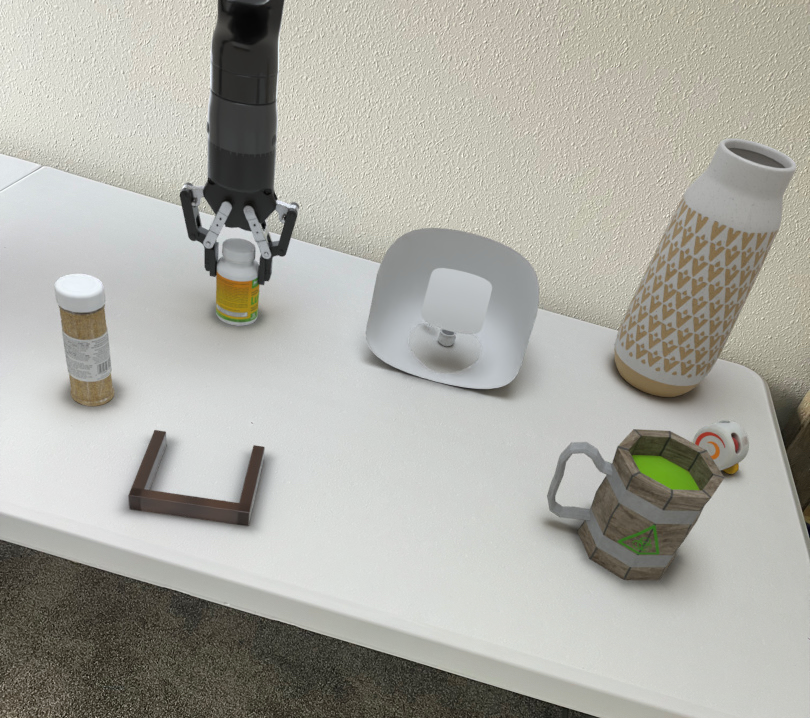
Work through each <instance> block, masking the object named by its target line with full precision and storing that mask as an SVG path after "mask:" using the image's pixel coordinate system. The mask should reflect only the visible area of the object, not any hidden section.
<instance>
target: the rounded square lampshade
mask: <svg viewBox="0 0 810 718" xmlns="http://www.w3.org/2000/svg"><path fill="white" fill-rule="evenodd" d="M373 287H374V288H373V292H372V298H371V302H370V304H371V305H370V309H369V314H368V318H367V321H366V322H367V323H366V328H365V340H366V344H367V346H368V348H369V349H370V352H372V353H373V354H374V355H375V356H376V357H377V358H378V359H379V360H381V361H382V362H384V363H385V364H387V365H389V366H391V367H393V368H395V369H397V370H400V371H402V372H404V373H407V374H409V375H413V376H415V377H419V378H423V379H425V380H429V381H433V382H436V383H441V384H445V385H450V386H455V387H461V388H468V389H477V390H490V389H498V388H501V387H505V386H507V385H509V384H510V383H512V381H514V379H515V378H517V375H518V374H519V372H520V370H521V367H522V364H523V361H524V357H525V354H526V351H527V348H528V345H529V341H530V339H531V335H532V332H533V329H534V325H535V322H536V319H537V317H538V310H539V304H540V282H539V279H538V275H537V272H536V271H535V268H534V267H533V265H532V264H531V263H530V261H529V260H528V259H527V258H526V257H524V255H523V254H521V253H520V252H518V251H517V250H515V249H514V248H512V247H511V246H508V245H505V244H504V243H502V242H499V241H498V240H494V239H491V238H489V237H486V236H482V235H479V234H476V233H473V232H468V231H465V230H464V231H463V230H459V229H452V228H443V227H442V228H441V227H424V228H418V229H414V230H411V231H408V232H406V233H404V234H402V235H401V236H399V237H398V238H396V240H395V241H394V242H393V243H392V244H391V245H390V246H389V247H388V249H387V250H386V252H385V254H384V256H383V258H382V260H381V262H380V264H379V267H378V270H377V273H376V276H375V283H374V286H373ZM421 324H425V327H427V329H428V330H430V329H431V328H432V327H433V328H437V329H440V332H439V333H438V338H437V339H438V342H439V344H440V345H441V346H444V347H449V346H452V345H453V344H454V343H455V340H456V335H457V334H460V335H461V334H463V335H473V336H474V337H475V338H476V339H477V340H478V342H479V344H480V355H479V357H478V359H477V360H476V361H475V362H474V363H473V364H471V365H470V366H467V367H466V368H463V369H461V370H457V371H452V372H437V371H435V370H433V369H431V368H428V367H427V366H426V365H425V364H424V363H423V362H421V360H420V359H419V358H418V357H417V356H416V355H415V353H414V352H413V351H412V349H411V347H410V346H411V345H410V343H409V341H410V335H411V332H412V331H413V330H414V329H415V328H416V327H418V325H421Z"/></svg>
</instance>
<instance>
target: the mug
mask: <svg viewBox="0 0 810 718" xmlns="http://www.w3.org/2000/svg"><path fill="white" fill-rule="evenodd" d="M692 442H693V441H690V440H688V439H686V438H684V437H683V436H680V435H679V434H677V433H674V432H673V431H672V430H660V429H638V428H633V429H632V430H631V431H630V432H629V434H628V435H626V437H625V438H624V439H623V440H622V441H621V442H620V443H619V444H618V445H617V447H616V450H615V453H614V456H613V459H612V462H609V461H607V460H605V459H604V457H603V456H602V454H601V452H600V451H599V449H598V448H597V447H595V446H594V445H592V444H591V443H590V442H588V441H577V442H575V441H574V442H573V441H572V442H570V443H569V444H568V446H567V447H566V448H565V449H563V451H562V452H561V453H560V454H559V456H558V460H557V464H556V468H555V471H554V474H553V476H552V479H551V481H550V484H549V488H548V491H547V493H546V499H547V504H548V510H549V512H551V513H552V514H554V515H555V516H556V517H558V518H563V519H573V520H579V521H583V522H582V523H581V525H580V526H579V527H578V529H577V533H578V536H579V538H580V541H581V543H582V545H583V548H584V550H585V553H586V554H587V557H588V560H589V561H592V562H593V563H595V564H597V565H598V566H600V567H602V568H604V569H605V570H606V571H608V572H610V573H612V574H613V575H615V576H617V577H618V578H620V579H621V580H623V581H660V580H661V579H662V577H663V576H664V574H665V573H666V571H667V570H668V568H669V567H670V565H671V564H672V562H673V561H674V559H675V557H676V555H677V552H678V551H679V548H680V547H681V545H683V543H684V541H685V540H686V539H687V537H688V536H689V534H690V533H691V531H692V529H693V528H694V526H696V524H697V522H698V520H699V518H700V516H701V514H702V512H703V510H704V508H705V506H706V505H707V504H708V502H709V501H710V500H711V499H712V497H713V496H714V494H715V493H716V491H717V490H718V488H719V487H720V486H721V484H722V483H723V481H724V480H725V476H724V474H723V473H722V470H719V468H718V467H717V465H716V464H715V462H714V461H713V459H712V457H711V456H710V454H709V453H708V451H707V450H705V449H703V448H701V447H700V446H698V445H696V444H694V443H692ZM576 454H577V455H578V454H584V455H585V456H587V457H588V458H590V459H591V461H592V463H593V464H594V466H595V468H596V469H597V471H599V473H602V474H604V475H605V476H604V478H603V479H602V481H601V483H600V485H599V486H598V488H597V490H596V491H595V494H594V497H593V500H592V502H591V506H590V508H585V507H579V506H569V505H567V506H565V505H562V504H560V503H558V502H557V501H556V496H557V492H558V490H559V488H560V485H561V483H562V481H563V478H564V475H565V470H566V465H567V462H568V461H569V459H570V458H571V457H572V455H576Z"/></svg>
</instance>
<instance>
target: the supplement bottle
mask: <svg viewBox="0 0 810 718" xmlns="http://www.w3.org/2000/svg"><path fill="white" fill-rule="evenodd" d="M256 249H257V248H256V245H255V244H254V243H253V242H252V241H250V240H247V239H245V238H240V237H232V238H227V239H225V240H224V241H223V242H222V249H221V253H222V256H221V257H219V258H218V262H217V267H216V277H215V279H216V280H215V315H216V316H217V318H218V319H219V320H220V321H221V322H223V323H225V324H227V325H230V326H238V327H241V326H249V325H252V324H253V323H255V322H256V321H257V319H258V317H259V316H258V315H259V300H260V299H259V298H260V286H261V285H259V284H258V281H259V262H258V261H257V260H256Z"/></svg>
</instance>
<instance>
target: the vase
mask: <svg viewBox="0 0 810 718" xmlns="http://www.w3.org/2000/svg"><path fill="white" fill-rule="evenodd" d="M796 170H797V164H796V162H795V161H794V160H793V159H792V158H791V157H790V156H788V155H787V154H786V153H784V152H782V151H781V150H778V149H775V148H773V147H771V146H769V145H766V144H764V143H760V142H757V141H752V140H748V139H744V138H735V137H734V138H725V139H722V140H721V141H720V142H719V143H718V146H717V148H716V150H715V152H714V154H713V156H712V158H711V160H710V163H709V165H708V166H707V168H706V170H704V171H703V172H702V173H701V174H700V176H699V177H697V179H695V180H694V181H693V182H692V183H691V184H690V185H689V187H688V188H687V189H686V190H685V191H684V192H683V193H684V194H683V195H682V197H681V198H680V201H679V203H678V205H677V207H676V209H675V211H674V212H673V214H672V217H671V219H670V220H669V222H668V225H667V226H666V228H665V231H664V233H663V234H662V236H661V239H660V240H659V243H658V245H657V247H656V249H655V251H654V253H653V255H652V257H651V260H650V261H649V264H648V265H647V268H646V270H645V272H644V273H643V276H642V278H641V279H640V282H639V284H638V286H637V288H636V290H635V292H634V295H633V297H632V299H631V301H630V303H629V305H628V307H627V309H626V311H625V313H624V316H623V318H622V320H621V323H620V325H619V328H618V331H617V333H616V336H615V337H616V338H615V341H614V347H613V351H614V353H613V354H614V363H615V366H616V369H617V372H618V373H619V374H620V376H621V377H622V379H624V381H626V382H627V383H628V384H629V385H630V386H632V387H633V388H635V389H637V390H639V391H641V392H643V393H645V394H648V395H652V396H656V397H659V398H660V397H661V398H675V397H679V396H681V395H684V394H687V393H689V392H690V391H692V390H693V389H695V388H697V387H698V386H699V385H700V384H701V383H702V382H703V381H704V380H705V379H706V378H707V376H708V375H709V374H710V372H711V370H712V369H713V368H714V366H715V364H716V362H717V361H718V359H719V357H720V355H721V354H722V352H723V350H724V348H725V346H726V344H727V341H728V339H729V337H730V335H731V333H732V331H733V328H734V326H735V324H736V323H737V320H738V319H739V316H740V314H741V313H742V310H743V308H744V305H745V303H746V301H747V299H748V297H749V295H750V293H751V291H752V289H753V286H754V285H755V282H756V280H757V278H758V276H759V274H760V272H761V270H762V267H763V265H764V263H765V261H766V260H767V257H768V255H769V253H770V250H771V248H772V245H773V243H774V241H775V239H776V237H777V235H778V232H779V231H780V228H781V224H782V219H783V218H782V217H783V202H784V195H785V193H786V191H787V188H788V186H789V185H790V183H791V180H792V179H793V176H794V175H795V172H796Z"/></svg>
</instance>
